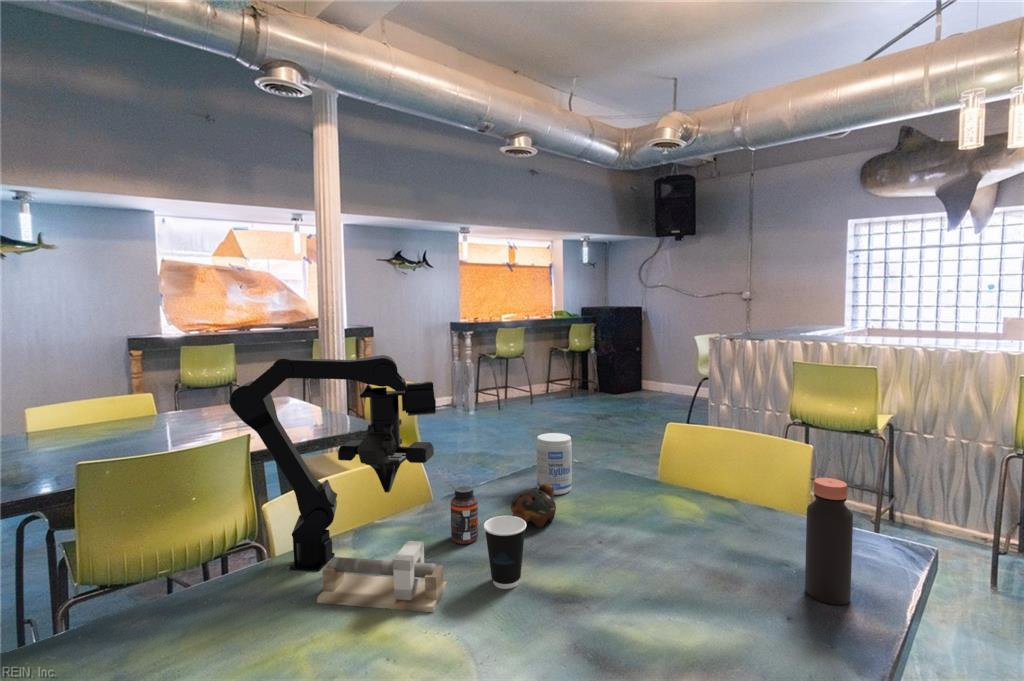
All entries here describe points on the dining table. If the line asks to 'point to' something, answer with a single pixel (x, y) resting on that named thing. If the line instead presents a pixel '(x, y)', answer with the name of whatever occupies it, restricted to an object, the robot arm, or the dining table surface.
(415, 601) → the pipe rig
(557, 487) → the supplement tub
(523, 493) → the ocarina
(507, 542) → the dixie cup
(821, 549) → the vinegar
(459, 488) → the supplement bottle
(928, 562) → the dining table surface
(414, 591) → the collar
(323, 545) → the robot arm
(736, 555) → the dining table surface
